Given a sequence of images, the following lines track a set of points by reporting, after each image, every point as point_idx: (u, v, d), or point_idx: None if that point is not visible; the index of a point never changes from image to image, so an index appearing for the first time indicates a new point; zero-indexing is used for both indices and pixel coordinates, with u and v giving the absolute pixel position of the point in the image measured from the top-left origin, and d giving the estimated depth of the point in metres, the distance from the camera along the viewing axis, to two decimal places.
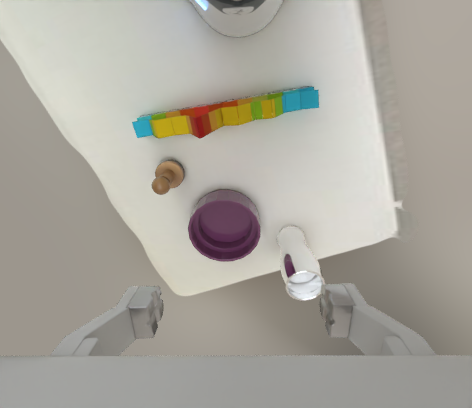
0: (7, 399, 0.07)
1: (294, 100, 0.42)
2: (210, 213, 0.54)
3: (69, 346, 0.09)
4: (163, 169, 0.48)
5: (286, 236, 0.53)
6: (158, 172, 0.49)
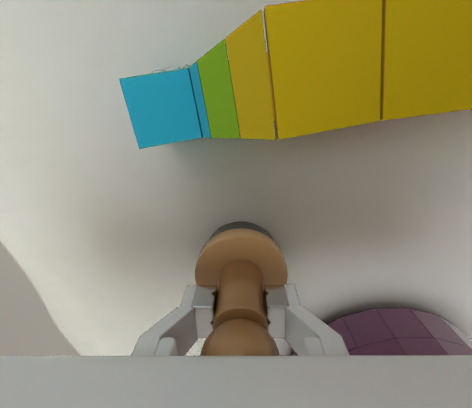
0: (7, 399, 0.07)
1: None
2: None
3: (148, 346, 0.09)
4: (224, 258, 0.14)
5: None
6: (206, 267, 0.14)
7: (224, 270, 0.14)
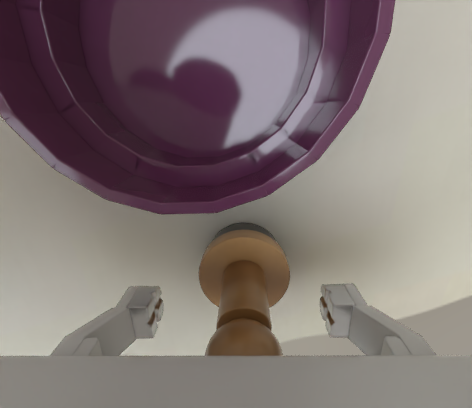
0: (7, 399, 0.07)
1: None
2: (167, 112, 0.14)
3: (69, 346, 0.09)
4: (228, 259, 0.14)
5: None
6: (210, 268, 0.15)
7: (227, 271, 0.14)
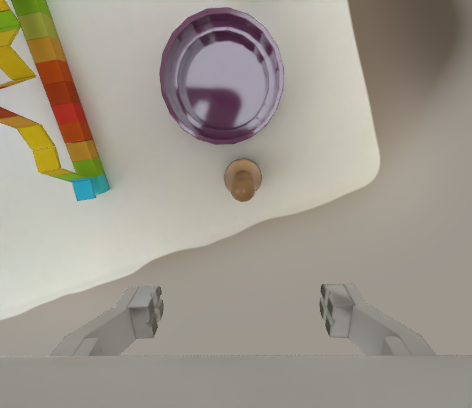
0: (7, 399, 0.07)
1: None
2: (213, 111, 0.35)
3: (69, 346, 0.09)
4: (236, 170, 0.36)
5: None
6: (229, 174, 0.36)
7: (236, 173, 0.35)
